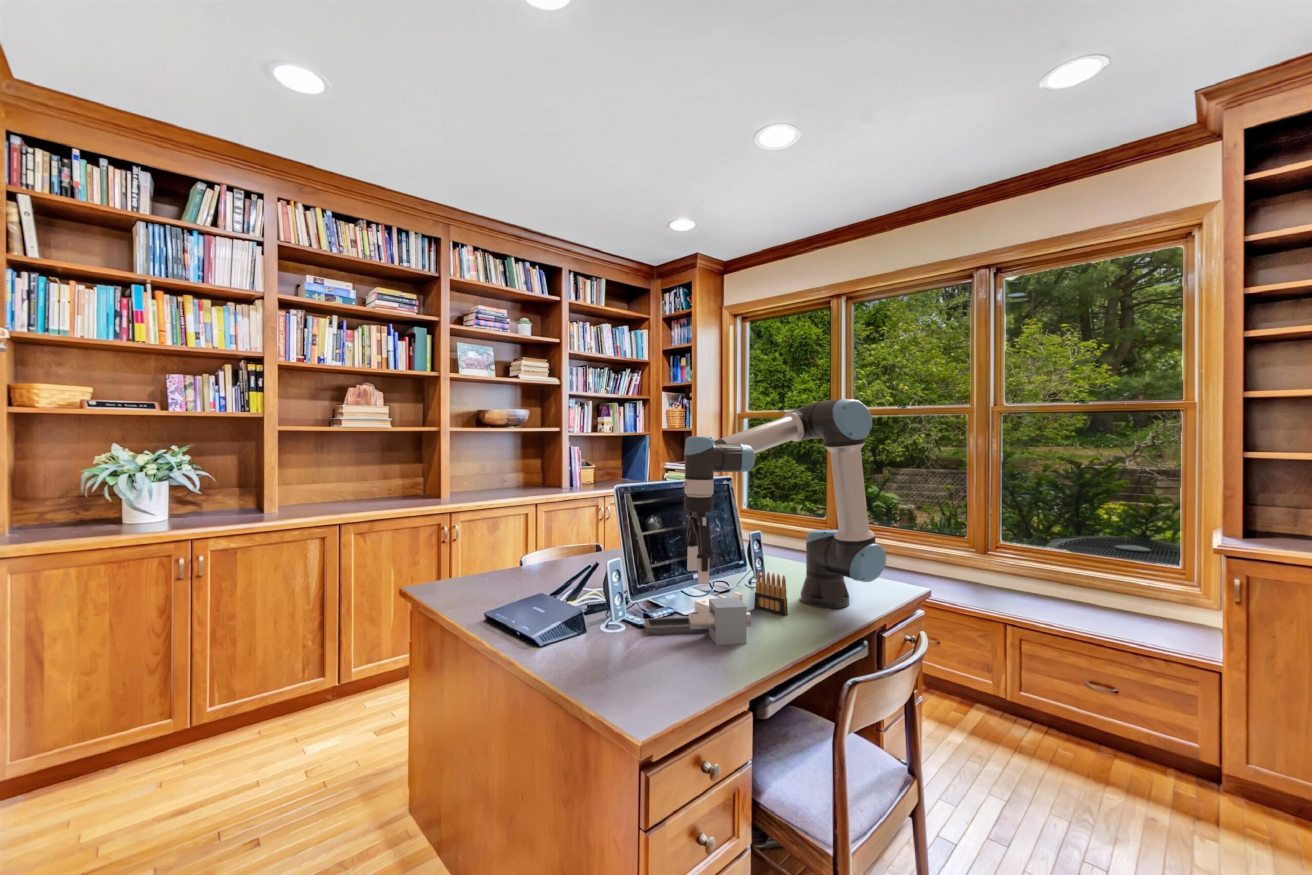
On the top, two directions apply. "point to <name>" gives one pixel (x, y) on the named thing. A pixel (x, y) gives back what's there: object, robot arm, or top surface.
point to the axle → (707, 620)
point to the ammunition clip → (771, 595)
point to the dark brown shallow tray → (670, 626)
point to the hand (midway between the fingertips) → (697, 576)
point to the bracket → (703, 604)
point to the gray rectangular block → (728, 621)
